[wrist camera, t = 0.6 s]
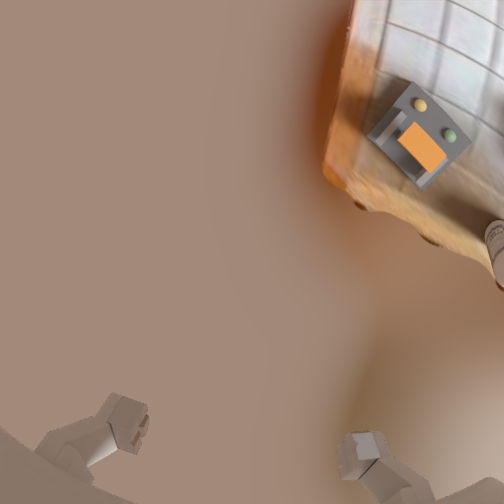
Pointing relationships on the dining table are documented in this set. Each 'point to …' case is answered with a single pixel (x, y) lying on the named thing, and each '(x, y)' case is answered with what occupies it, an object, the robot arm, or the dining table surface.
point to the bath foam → (496, 248)
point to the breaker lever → (421, 147)
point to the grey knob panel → (431, 121)
